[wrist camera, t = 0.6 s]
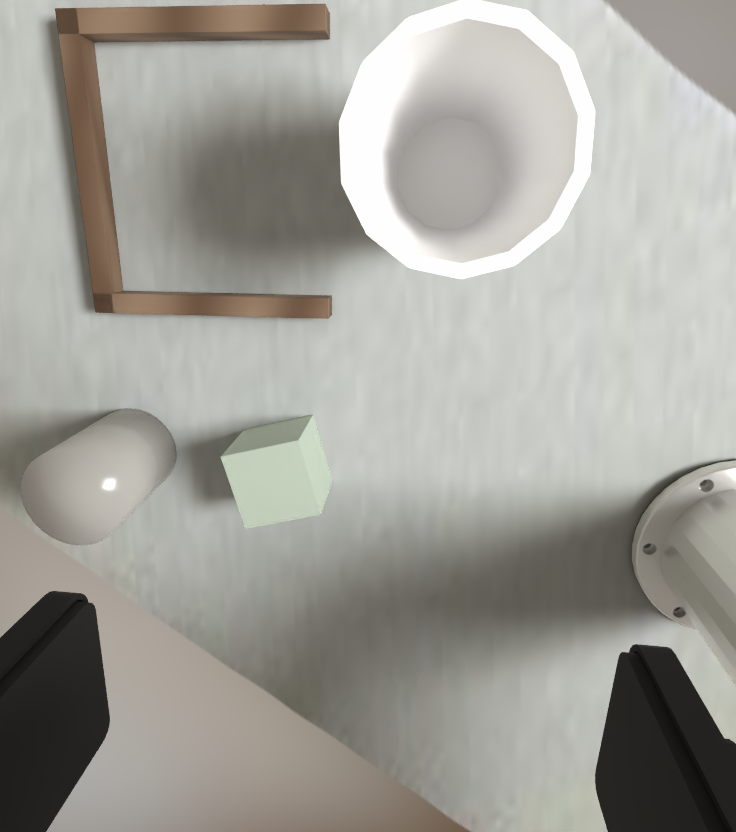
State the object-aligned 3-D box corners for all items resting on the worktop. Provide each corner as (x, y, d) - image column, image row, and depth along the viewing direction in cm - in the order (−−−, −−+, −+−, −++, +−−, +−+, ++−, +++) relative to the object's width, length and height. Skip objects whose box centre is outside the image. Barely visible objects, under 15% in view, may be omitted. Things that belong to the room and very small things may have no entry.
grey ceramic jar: (172, 410, 40) (114, 453, 32) (180, 489, 42) (126, 548, 34) (88, 406, 41) (11, 448, 33) (100, 485, 42) (30, 542, 35)
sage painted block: (313, 414, 39) (298, 440, 35) (332, 480, 41) (321, 514, 36) (244, 429, 40) (220, 456, 35) (265, 494, 42) (245, 528, 37)
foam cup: (465, 45, 32) (493, -69, 19) (564, 184, 34) (647, 160, 21) (335, 168, 34) (287, 136, 22) (433, 291, 36) (439, 325, 24)
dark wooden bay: (329, 13, 32) (325, 3, 30) (331, 314, 37) (328, 318, 36) (70, 17, 33) (54, 8, 32) (107, 309, 38) (95, 312, 37)
